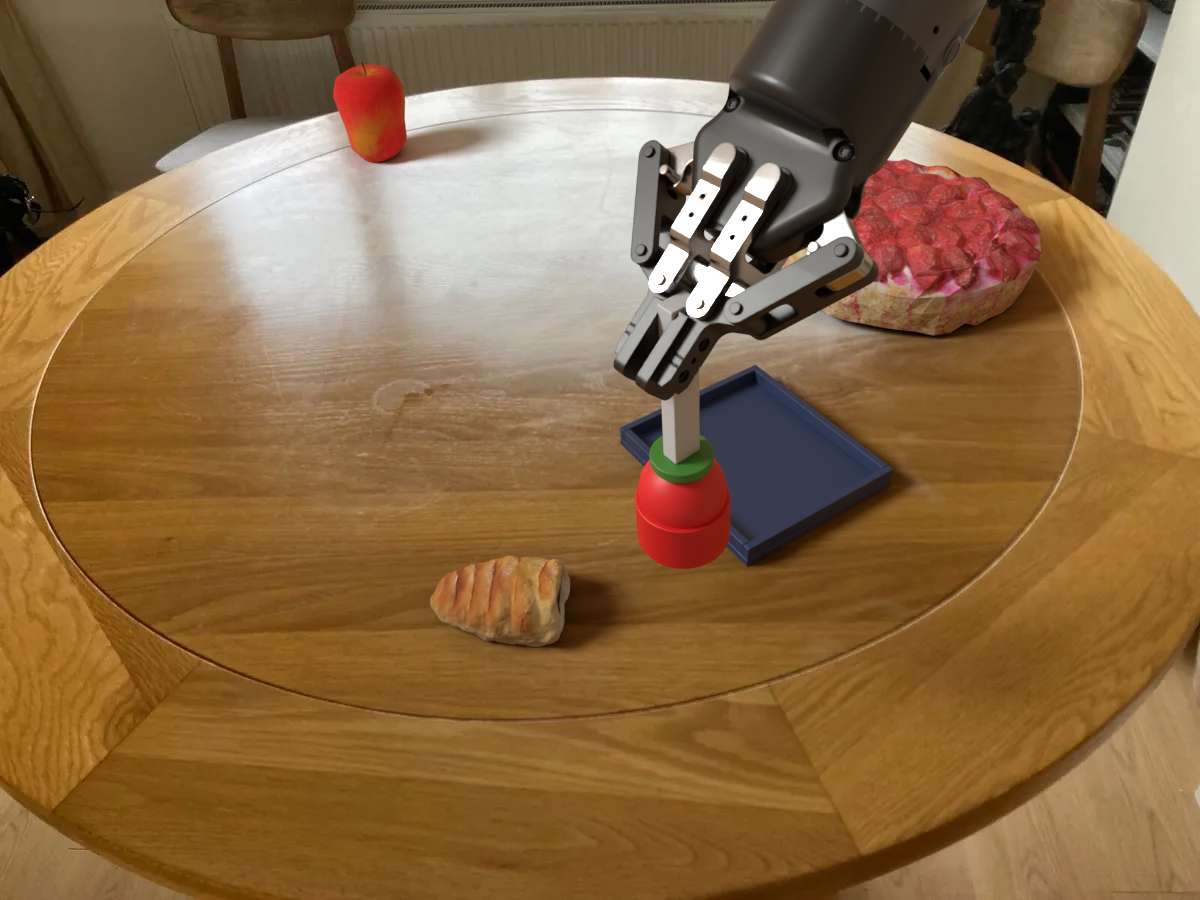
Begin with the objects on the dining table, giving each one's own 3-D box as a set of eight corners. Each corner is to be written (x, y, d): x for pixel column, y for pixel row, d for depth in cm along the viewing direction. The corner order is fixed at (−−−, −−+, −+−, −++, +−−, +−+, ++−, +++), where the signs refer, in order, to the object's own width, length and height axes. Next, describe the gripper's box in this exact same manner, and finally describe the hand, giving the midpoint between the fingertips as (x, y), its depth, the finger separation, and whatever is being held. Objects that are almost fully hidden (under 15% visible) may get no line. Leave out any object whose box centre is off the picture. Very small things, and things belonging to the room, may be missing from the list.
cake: (727, 223, 102) (736, 154, 97) (931, 189, 108) (951, 122, 102) (838, 367, 86) (856, 294, 80) (1072, 318, 92) (1104, 246, 86)
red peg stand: (749, 536, 52) (761, 301, 41) (679, 585, 50) (672, 352, 39) (687, 485, 55) (682, 255, 44) (618, 530, 53) (597, 300, 42)
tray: (890, 485, 74) (893, 468, 73) (746, 566, 69) (748, 550, 67) (754, 380, 84) (755, 364, 83) (620, 443, 79) (619, 427, 78)
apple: (418, 164, 119) (400, 68, 111) (349, 173, 117) (326, 77, 109) (411, 135, 125) (395, 42, 117) (346, 144, 124) (325, 51, 116)
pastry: (426, 648, 64) (416, 612, 62) (444, 572, 69) (436, 536, 67) (564, 652, 64) (560, 616, 61) (573, 574, 69) (569, 538, 66)
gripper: (705, -58, 41) (499, 294, 44) (976, 22, 33) (700, 445, 36) (782, 38, 47) (595, 341, 50) (1027, 125, 39) (787, 481, 42)
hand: (640, 384), depth 43 cm, fingers closed on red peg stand, 1 cm apart
